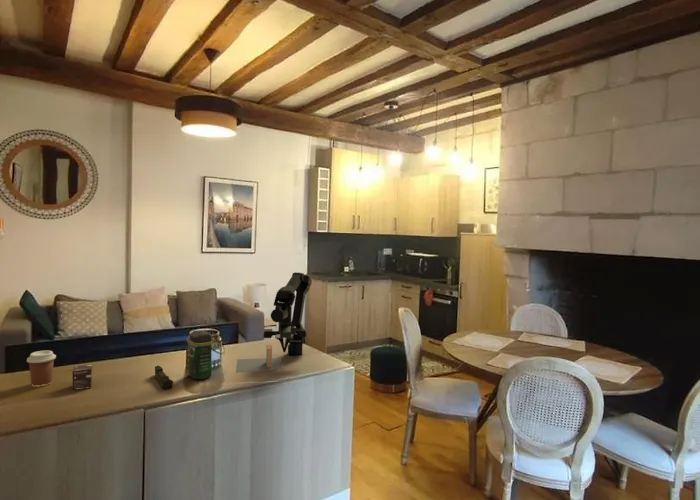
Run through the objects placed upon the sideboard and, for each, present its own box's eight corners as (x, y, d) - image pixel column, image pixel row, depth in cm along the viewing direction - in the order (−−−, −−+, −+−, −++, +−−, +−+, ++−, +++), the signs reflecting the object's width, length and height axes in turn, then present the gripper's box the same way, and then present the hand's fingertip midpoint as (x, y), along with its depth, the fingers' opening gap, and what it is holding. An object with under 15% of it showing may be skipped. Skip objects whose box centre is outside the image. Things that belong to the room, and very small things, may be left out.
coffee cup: (53, 378, 172) (53, 348, 172) (58, 384, 166) (58, 353, 165) (24, 383, 166) (24, 352, 165) (29, 390, 160) (28, 358, 159)
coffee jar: (214, 377, 179) (215, 332, 178) (195, 381, 174) (195, 335, 173) (205, 371, 186) (205, 327, 185) (186, 374, 181) (187, 330, 180)
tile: (271, 361, 199) (271, 344, 199) (271, 366, 192) (272, 348, 192) (266, 362, 199) (266, 344, 198) (266, 367, 192) (266, 349, 191)
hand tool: (173, 389, 166) (173, 377, 165) (161, 391, 163) (162, 379, 163) (163, 374, 181) (163, 363, 181) (153, 376, 179) (153, 364, 179)
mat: (281, 359, 206) (281, 357, 206) (283, 372, 188) (283, 370, 188) (237, 360, 201) (237, 359, 201) (235, 373, 184) (235, 372, 184)
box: (72, 390, 161) (72, 371, 160) (73, 385, 166) (73, 366, 166) (91, 388, 164) (91, 369, 163) (92, 383, 169) (92, 364, 168)
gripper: (264, 322, 186) (263, 358, 187) (308, 321, 190) (307, 356, 191) (263, 316, 197) (262, 350, 198) (305, 315, 201) (304, 349, 201)
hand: (284, 352), depth 197 cm, fingers closed
